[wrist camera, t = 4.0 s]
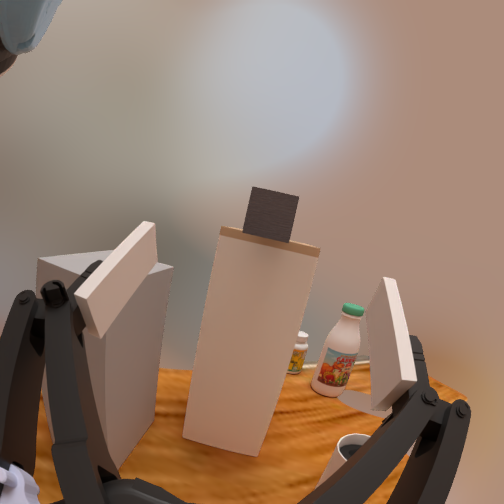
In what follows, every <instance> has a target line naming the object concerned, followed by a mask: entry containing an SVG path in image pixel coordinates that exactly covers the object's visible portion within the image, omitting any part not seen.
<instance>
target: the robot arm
mask: <svg viewBox="0 0 504 504" xmlns="http://www.w3.org/2000/svg"><path fill="white" fill-rule="evenodd" d="M61 2H62V0H0V77H1V76H2V75H4V74H5V73H6V72H7V71H8V70H9V69H10V68H11V67H12V66H13V64H14V62H15V61H16V58H17V56H18V55H19V54H22V53H28V52H30V51H32V50H33V49H34V48H35V47H36V46H37V45H38V43H39V42H40V40H41V38H42V37H43V35H44V34H45V32H46V30H47V28H48V26H49V24H50V22H51V20H52V18H53V16H54V14H55V12H56V10H57V7H58V6H59V5H60V3H61ZM156 263H157V247H156V231H155V223H150V222H146V221H143V223H142V224H140V225H139V226H138V227H137V228H136V229H135V230H134V231H133V232H132V233H131V234H130V235H129V236H128V237H127V238H126V239H125V240H124V241H123V242H122V243H121V244H120V245H119V246H118V247H117V248H116V249H115V250H114V251H113V252H112V253H111V254H110V255H109V256H108V257H107V258H106V259H105V260H104V261H102V260H97V261H96V262H94V263H92V264H90V265H89V266H88V267H87V269H86V270H85V272H83V273H82V274H81V275H80V276H79V277H78V278H77V279H76V280H75V281H74V282H73V283H72V284H71V286H70V287H69V288H68V289H67V290H66V289H65V286H64V283H63V282H62V281H60V280H51V281H48V282H47V283H45V284H44V285H43V286H42V288H41V290H40V293H41V296H42V298H43V299H39V298H36V295H35V293H34V292H33V291H32V290H25V291H22V292H21V293H19V294H18V295H17V296H16V298H15V300H14V303H13V305H12V307H11V310H10V312H9V315H8V318H7V321H6V324H5V326H4V329H3V332H2V335H1V338H0V504H40V503H39V501H38V498H37V495H38V494H39V492H40V491H39V487H38V485H36V482H35V480H34V479H33V475H34V469H35V458H36V435H37V421H38V411H39V402H40V394H41V387H42V380H43V374H44V368H45V363H46V379H47V390H48V399H49V407H50V414H51V421H52V427H53V432H54V438H55V443H54V444H53V445H52V449H51V451H52V457H53V461H54V466H55V470H56V474H57V477H58V481H59V484H60V488H61V491H62V494H63V498H64V499H63V500H60V501H57V502H54V503H50V504H194V503H186V502H184V501H182V500H180V499H179V498H177V497H175V496H174V495H172V494H171V493H169V492H167V491H166V490H164V489H163V488H161V487H159V486H156V485H153V484H151V483H148V482H146V481H143V480H141V479H139V478H136V479H135V480H133V479H121V478H120V475H119V472H118V470H117V468H116V465H115V464H114V462H113V460H112V458H111V456H110V454H109V451H108V448H107V444H106V441H105V438H104V434H103V431H102V427H101V423H100V419H99V415H98V411H97V407H96V403H95V398H94V394H93V389H92V384H91V379H90V373H89V368H88V362H87V355H86V348H85V341H84V334H83V332H82V331H83V330H84V328H85V327H87V330H88V332H89V334H91V335H93V336H95V337H97V338H100V339H101V338H102V337H103V335H104V334H105V332H106V331H107V330H108V328H109V327H110V325H111V324H112V322H113V321H114V320H115V318H116V317H117V315H118V314H119V313H120V311H121V310H122V308H123V307H124V306H125V304H126V303H127V302H128V300H129V299H130V297H131V296H132V295H133V293H134V292H135V291H136V289H137V288H138V287H139V285H140V284H141V283H142V281H143V280H144V279H145V277H146V276H147V275H148V273H149V272H150V271H151V270H152V268H153V267H154V266H155V264H156ZM366 321H367V332H368V343H369V357H370V374H371V400H372V410H378V411H386V410H388V409H389V408H390V407H391V406H392V413H391V414H390V415H389V416H388V417H387V418H385V419H384V420H383V421H382V422H383V423H382V424H381V426H380V427H379V428H378V429H377V430H376V431H375V432H374V433H373V435H372V436H371V437H370V438H369V439H368V440H367V441H366V442H365V443H364V444H363V445H362V446H361V447H360V448H359V449H358V450H357V451H356V452H355V453H354V454H353V455H352V456H351V457H350V458H349V459H348V460H347V461H346V462H345V463H344V464H343V465H342V466H341V467H340V468H339V469H338V470H337V471H336V472H335V473H333V474H332V475H331V476H330V477H329V478H328V479H327V480H326V481H324V482H323V483H322V484H321V485H320V486H319V487H317V488H316V489H315V490H314V491H313V492H311V493H310V494H309V495H308V496H306V497H305V498H304V499H302V500H301V501H300V502H299V503H297V504H363V503H364V502H365V501H366V500H367V499H368V498H369V497H370V496H371V495H372V494H373V493H374V491H375V490H376V489H377V488H378V487H379V486H380V485H381V484H382V483H383V481H384V480H385V479H386V478H387V477H388V476H389V474H390V473H391V472H392V471H393V469H394V468H395V467H396V466H397V465H398V463H399V462H400V461H401V459H402V458H403V457H404V455H405V454H406V453H407V451H408V450H409V449H410V447H411V446H412V445H413V443H414V442H415V440H416V439H417V440H416V443H415V445H414V448H413V450H412V453H411V455H410V457H409V459H408V462H407V464H406V466H405V468H404V470H403V472H402V475H401V477H400V479H399V481H398V483H397V485H396V487H395V489H394V491H393V492H392V494H391V496H390V498H389V500H388V502H387V503H386V504H445V501H446V499H447V496H448V494H449V491H450V489H451V486H452V483H453V480H454V477H455V474H456V471H457V468H458V465H459V462H460V458H461V454H462V451H463V448H464V444H465V440H466V436H467V432H468V427H469V423H470V418H471V410H470V407H469V405H468V404H467V403H466V402H465V401H464V400H461V399H458V400H456V401H454V402H453V403H452V404H450V403H448V402H446V401H443V400H441V399H439V396H438V394H437V392H436V391H435V390H434V389H433V388H432V387H430V385H429V379H428V374H427V369H426V363H425V362H424V360H425V358H424V355H423V349H422V345H421V343H420V341H419V340H418V338H417V337H416V336H412V335H409V333H408V329H407V324H406V320H405V316H404V312H403V307H402V303H401V300H400V295H399V292H398V288H397V284H396V281H395V279H391V278H387V277H383V278H382V281H381V283H380V285H379V287H378V289H377V290H376V292H375V294H374V297H373V299H372V300H371V302H370V304H369V306H368V308H367V310H366Z"/></svg>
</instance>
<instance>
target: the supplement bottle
mask: <svg viewBox="0 0 504 504" xmlns="http://www.w3.org/2000/svg"><path fill="white" fill-rule="evenodd" d="M307 339H308V334H306V333H304V332H301V331H299V333H298V337H297V340H296V344H295V347H294V350H293V354H292V357H291V360H290V363H289V367H288V370H287V373H290V374H298V373H299V372H300V371H301V369H302V366H303V363H304V359H305V356H306V353H307V349H308V344H307V343H306V341H307Z"/></svg>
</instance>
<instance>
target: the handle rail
mask: <svg viewBox="0 0 504 504" xmlns="http://www.w3.org/2000/svg"><path fill="white" fill-rule="evenodd" d="M298 200H299V197H298V196H293V195H289V194H285V193H280V192H276V191H271V190H267V189H262V188H257V187H252V191H251V196H250V200H249V204H248V209H247V213H246V217H245V222H244V226H243V231H242V233H246V234H250V235H254V236H259V237H263V238H268V239H272V240H276V241H281V242H285V243H289V240H290V236H291V231H292V227H293V222H294V218H295V213H296V209H297V204H298Z"/></svg>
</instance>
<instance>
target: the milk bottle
mask: <svg viewBox="0 0 504 504" xmlns="http://www.w3.org/2000/svg"><path fill="white" fill-rule="evenodd" d="M341 313H342V316H341V318H340V320H339V321H338V323H337V324H336V325H335V327H334V328H333V329H332V330H331V332H330V333H329V335H328V336H327V338H326V341H325V344H324V346H323V349H322V353H321V355H320V358H319V361H318V364H317V367H316V370H315V373H314V376H313V378H312V382H311V386H312V388H313V390H314V391H316V392H317V393H319V394H321V395H324V396H328V397H337V396H339V395H341V394H342V393H343V391H344V389H345V386H346V384H347V381H348V379H349V376H350V374H351V371H352V368H353V366H354V363H355V360H356V357H357V354H358V351H359V347H360V332H359V324H360V319H362V316H363V313H364V308H362V307H361V306H358V305H355V304H351V303H345V304H344V305H343V308H342V312H341Z"/></svg>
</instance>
